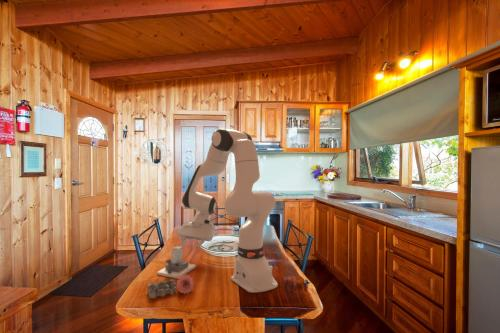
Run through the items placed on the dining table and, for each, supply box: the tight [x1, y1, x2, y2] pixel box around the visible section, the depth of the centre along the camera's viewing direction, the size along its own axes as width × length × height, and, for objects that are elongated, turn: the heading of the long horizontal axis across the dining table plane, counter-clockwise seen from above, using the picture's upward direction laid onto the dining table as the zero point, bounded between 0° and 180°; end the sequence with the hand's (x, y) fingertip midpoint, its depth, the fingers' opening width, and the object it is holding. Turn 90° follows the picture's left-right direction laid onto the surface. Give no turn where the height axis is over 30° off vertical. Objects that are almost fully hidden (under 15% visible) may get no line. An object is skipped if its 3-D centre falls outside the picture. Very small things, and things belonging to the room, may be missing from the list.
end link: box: [171, 246, 184, 266], centre depth 127 cm, size 4×4×10 cm
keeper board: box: [156, 258, 197, 279], centre depth 126 cm, size 15×12×8 cm
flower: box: [175, 273, 195, 295], centre depth 107 cm, size 8×8×6 cm
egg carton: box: [146, 278, 177, 299], centre depth 106 cm, size 11×8×4 cm
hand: (189, 246), depth 137 cm, fingers open, 8 cm apart
